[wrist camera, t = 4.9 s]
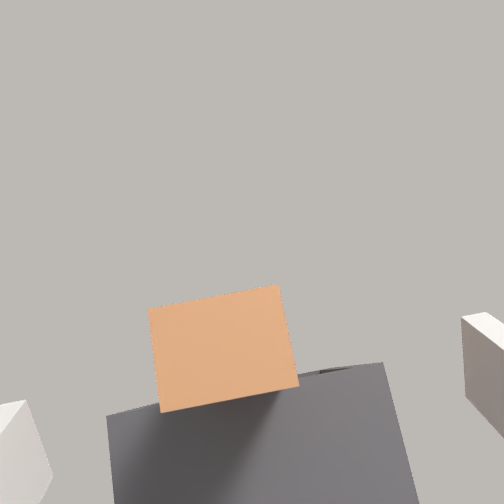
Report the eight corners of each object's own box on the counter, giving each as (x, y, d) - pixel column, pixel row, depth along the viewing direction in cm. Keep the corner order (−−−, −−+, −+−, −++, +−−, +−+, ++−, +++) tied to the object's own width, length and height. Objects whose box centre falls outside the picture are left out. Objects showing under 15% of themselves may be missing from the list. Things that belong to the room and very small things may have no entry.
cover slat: (299, 385, 13) (278, 284, 14) (160, 413, 13) (147, 308, 14) (276, 378, 40) (269, 344, 41) (232, 387, 40) (226, 353, 41)
